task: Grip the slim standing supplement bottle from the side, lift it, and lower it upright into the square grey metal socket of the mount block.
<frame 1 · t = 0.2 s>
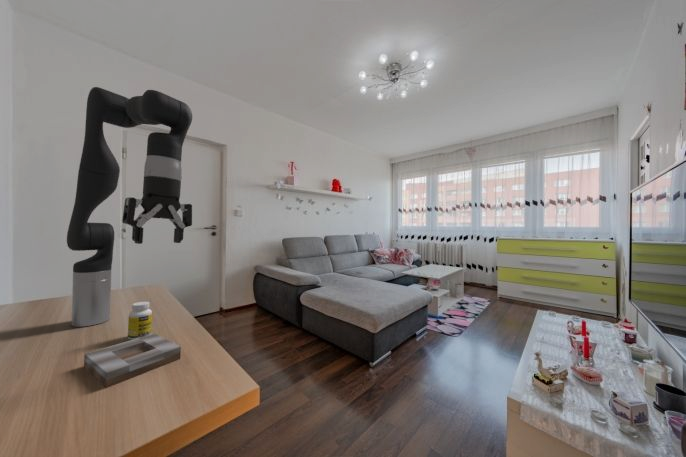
hand: (158, 243, 63), 29 cm above the table, tool pointing down, fingers open, 8 cm apart
supplement bottle: (139, 337, 76), on the table
mount block: (134, 362, 61), on the table
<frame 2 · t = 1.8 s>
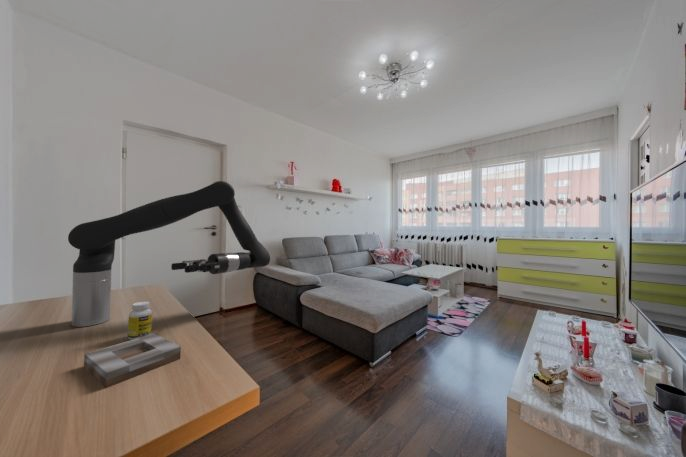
hand: (178, 268, 84), 19 cm above the table, tool horizontal, fingers open, 8 cm apart
nothing on the table moved.
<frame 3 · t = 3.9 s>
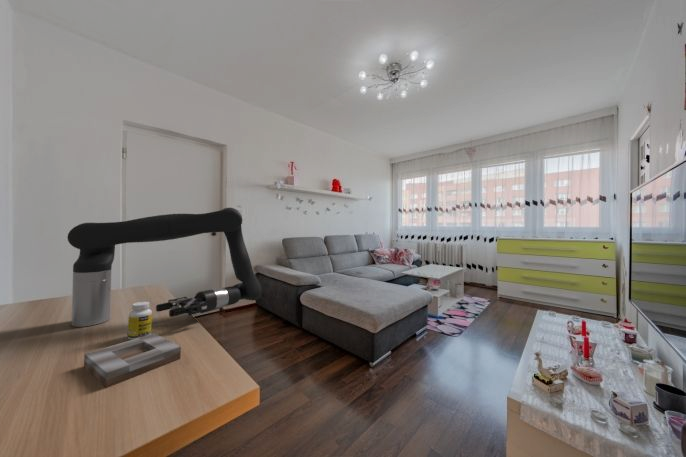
hand: (163, 310, 81), 6 cm above the table, tool horizontal, fingers open, 8 cm apart
nothing on the table moved.
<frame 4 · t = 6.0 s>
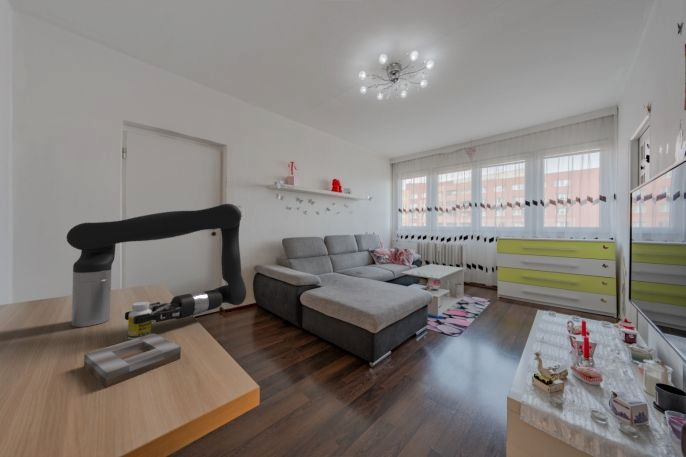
hand: (129, 318, 73), 6 cm above the table, tool horizontal, fingers closed on supplement bottle, 5 cm apart
supplement bottle: (139, 337, 76), on the table, touching gripper
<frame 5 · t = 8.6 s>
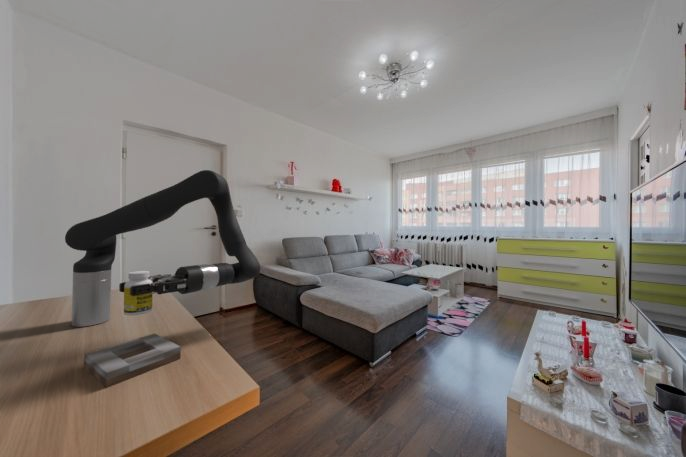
hand: (125, 289, 60), 18 cm above the table, tool horizontal, fingers closed on supplement bottle, 5 cm apart
supplement bottle: (138, 313, 62), point 12 cm above the table, touching gripper
when the fingers open (8 cm above the table, at t = 11.5 s): supplement bottle stays where it is, resting on mount block.
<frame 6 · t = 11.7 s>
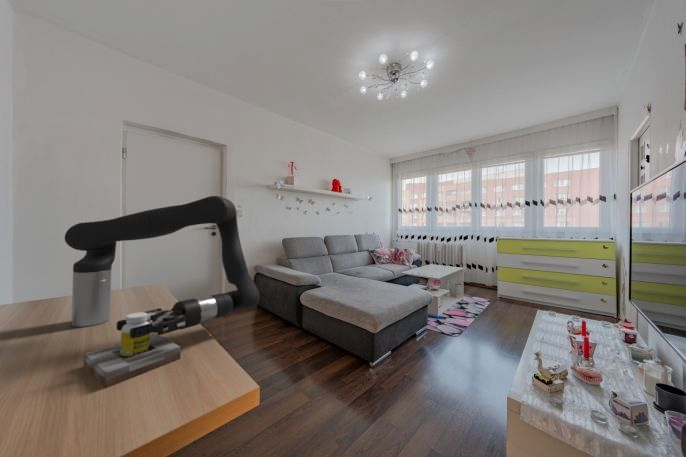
hand: (123, 329, 59), 8 cm above the table, tool horizontal, fingers open, 7 cm apart
supplement bottle: (134, 356, 61), point 1 cm above the table, touching mount block
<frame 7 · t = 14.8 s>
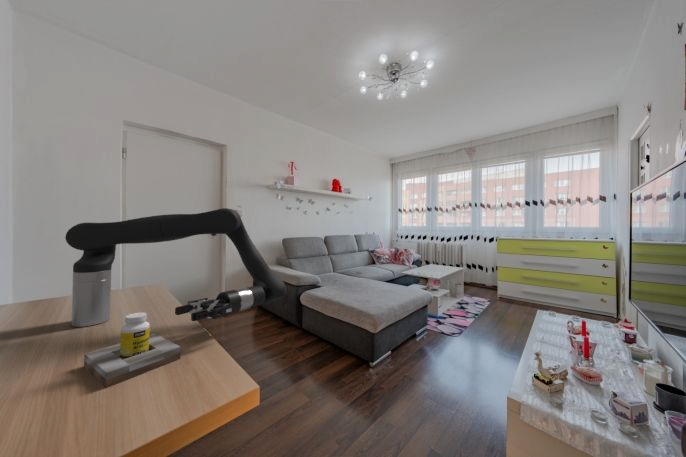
hand: (183, 314, 71), 9 cm above the table, tool horizontal, fingers open, 8 cm apart
nothing on the table moved.
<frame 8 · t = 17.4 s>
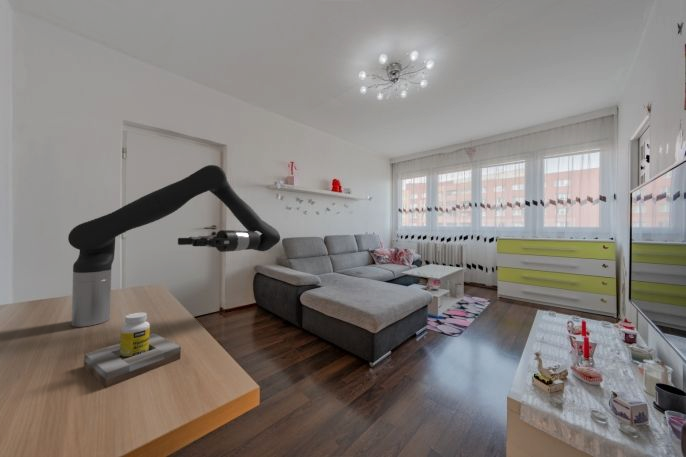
hand: (185, 242, 78), 28 cm above the table, tool horizontal, fingers open, 8 cm apart
nothing on the table moved.
at the end: supplement bottle 0.2 cm off-centre on the mount block, point 1.3 cm above the mount block's base; supplement bottle tilted 0°; the gripper is holding nothing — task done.
